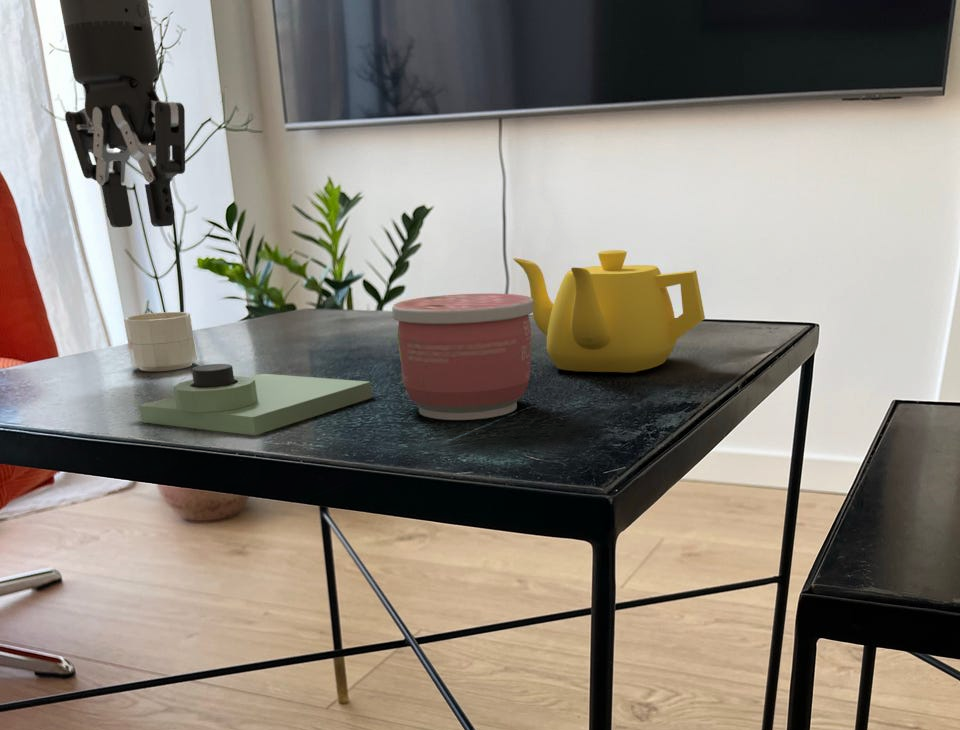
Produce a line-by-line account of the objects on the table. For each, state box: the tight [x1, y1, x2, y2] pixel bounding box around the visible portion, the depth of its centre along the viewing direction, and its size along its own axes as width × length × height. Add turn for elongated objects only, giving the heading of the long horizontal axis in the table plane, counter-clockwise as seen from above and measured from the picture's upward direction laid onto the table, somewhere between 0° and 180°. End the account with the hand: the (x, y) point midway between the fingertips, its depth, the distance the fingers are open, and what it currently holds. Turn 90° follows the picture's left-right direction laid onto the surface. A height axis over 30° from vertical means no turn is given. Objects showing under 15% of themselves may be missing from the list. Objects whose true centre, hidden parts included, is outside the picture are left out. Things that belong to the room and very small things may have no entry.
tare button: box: [191, 363, 235, 388], centre depth 77 cm, size 3×3×2 cm
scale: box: [138, 373, 373, 436], centre depth 81 cm, size 14×12×3 cm
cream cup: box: [123, 311, 198, 373], centre depth 103 cm, size 6×6×5 cm
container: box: [391, 293, 534, 421], centre depth 77 cm, size 10×10×8 cm
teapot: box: [512, 249, 706, 374], centre depth 91 cm, size 14×13×10 cm
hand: (142, 225), depth 98 cm, fingers open, 5 cm apart
